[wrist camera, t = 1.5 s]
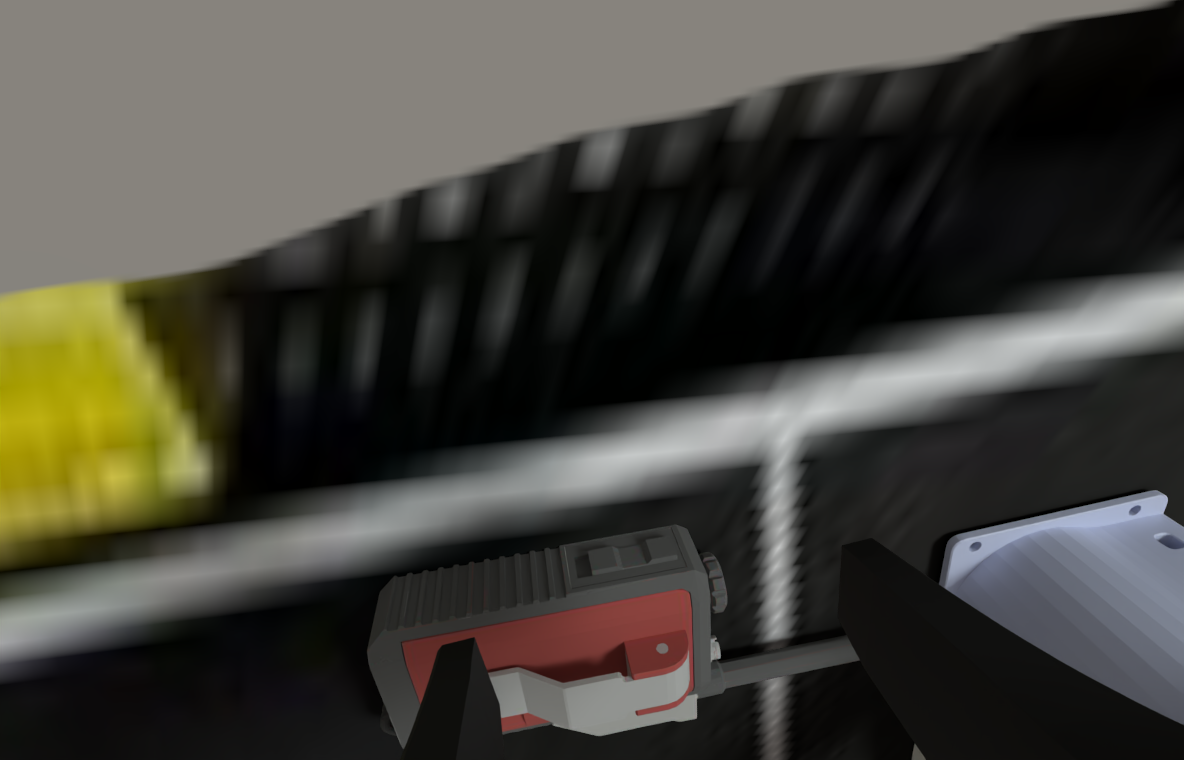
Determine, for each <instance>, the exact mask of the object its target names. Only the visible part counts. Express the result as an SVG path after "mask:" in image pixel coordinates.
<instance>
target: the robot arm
mask: <svg viewBox="0 0 1184 760" xmlns="http://www.w3.org/2000/svg"><path fill="white" fill-rule="evenodd" d="M1167 502H1168V498H1167V496H1166V495H1164V494H1162V493H1161V492H1159V491H1157V490H1154V491H1148V492H1143V493H1139V494H1135V495H1130V496H1126V497H1121V498H1117V499H1112V500H1108V501H1103V502H1099V503H1095V504H1090V505H1086V506H1081V507H1077V508H1072V509H1068V510H1064V511H1059V512H1055V513H1050V514H1046V515H1041V516H1037V517H1032V518H1028V519H1024V520H1019V521H1015V522H1010V523H1006V524H1001V525H997V526H992V527H988V528H984V529H979V530H975V531H970V532H966V533H961V534H958V535H955V536H953V537H952V538H950V540H949V541H948V542H947V545H946V549H945V555H944V560H943V566H942V571H941V577H940V582H939V584H938V583H936V582H935V581H933V580H932V579H931V578H929V577H928V576H926V575H925V574H923V573H922V572H920V571H919V570H917V569H916V568H915V567H913V566H912V565H910V564H909V563H907V562H906V561H904V560H903V559H902V558H900V557H899V556H897V555H896V554H894V553H893V552H891V551H890V550H889V549H887V548H886V547H884V546H883V545H881V544H880V543H878V542H877V541H875V540H874V539H872V538H870V539H866V540H862V541H858V542H854V543H850V544H846V545H842V555H841V571H840V586H839V602H838V619H839V621H840V623H841V625H842V627H843V629H844V631H845V633H846V635H847V637H848V639H849V641H850V643H851V645H852V647H853V648H854V650H855V652H856V654H857V656H858V658H859V659H860V661H861V663H862V665H863V667H864V669H865V670H866V672H867V673H868V675H869V676H870V678H871V679H872V681H873V682H874V684H875V685H876V687H877V688H878V690H879V691H880V693H881V694H882V696H883V697H884V699H885V700H886V702H887V703H888V705H889V706H890V708H891V709H892V711H893V712H894V713H895V715H896V716H897V718H898V719H899V721H900V722H901V724H902V725H903V727H904V728H905V730H906V731H907V733H908V734H909V735H910V737H911V738H912V740H913V741H914V743H915V744H916V746H917V747H918V749H919V750H920V752H921V753H922V755H923V756H924V758H925V759H926V760H1184V527H1183V526H1181V525H1179V524H1178V523H1176V522H1175V521H1173V520H1172V519H1170V518H1169V517H1167V516H1165V515H1164V514H1163V513H1164V510H1165V508H1166V505H1167ZM400 760H504V747H503V734H502V723H501V712H500V704H499V701H498V699H497V696H496V693H495V690H494V688H493V685H492V682H491V680H490V677H489V674H488V672H487V669H486V666H485V664H484V661H483V658H482V656H481V653H480V650H479V647H478V645H477V642H476V639H475V637H473V638H469V639H465V640H461V641H456V642H452V643H448V644H444V645H442V646H441V647H440V648H439V650H438V651H437V654H436V658H435V661H434V665H433V668H432V671H431V675H430V678H429V681H428V684H427V687H426V690H425V693H424V696H423V699H422V702H421V705H420V708H419V711H418V713H417V716H416V719H415V722H414V725H413V727H412V730H411V733H410V735H409V738H408V740H407V743H406V746H405V748H404V751H403V753H402V756H401V759H400Z"/></svg>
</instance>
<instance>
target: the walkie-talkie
mask: <svg viewBox="0 0 1184 760" xmlns="http://www.w3.org/2000/svg"><path fill="white" fill-rule="evenodd" d="M726 605H727V592H726V586H725V582H724V577H723V574H722V570H721V567H720V565H719V563H718V561H717V559H716V557H715V556H714V555H713V554H711V553H709V552H706V553H701V554H699V555H698V552H697V550H696V548H695V546H694V543H693V541H692V539H691V536H690V534H689V532H688V530H687V529H686V528H684V527H681V526H678V525H671V526H665V527H660V528H654V529H649V530H643V531H638V532H632V533H627V534H621V535H616V536H610V537H605V538H599V539H594V540H588V541H583V542H577V543H572V544H566V545H561V546H559V548H556V549H551V550H550V549H549V548H545V549H544V551H540V552H535V551H529V554H523V555H520V554H519V553H517V554H514V556H512V557H507V558H505V557H504V556H501V557H499V559H496V560H489V559H484V562H480V563H474V562H469V564H468V565H463V566H459V565H458V564H457V565H454V566H453V567H452V568H447V569H444V568H443V567H440V568H438V570H436V571H430V572H429V571H428V570H424V571H423V572H422V573H419V574H414V575H413V574H412V573H407V576H403V577H397V576H394V577H393V578H392V579H391V580H390V581H389V582H388V584H387V585H386V586H385V587H384V588H383V589H382V590H381V591H380V593H379V598H378V603H377V607H376V612H375V616H374V621H373V626H372V630H371V635H370V639H369V644H368V649H367V655H368V662H369V666H370V669H371V672H372V675H373V677H374V680H375V682H376V685H377V687H378V690H379V692H380V695H381V697H382V700H383V702H384V704H383V706H382V714H381V716H380V726H381V729H382V730H383V731H384V732H386V733H388V734H391V735H393V736H398V739H399V741H400V744H401V746H402V748H405V746H406V743H407V740H408V738H409V735H410V733H411V730H412V727H413V725H414V722H415V719H416V716H417V713H418V711H419V708H420V705H421V702H422V699H423V696H424V693H425V690H426V687H427V684H428V681H429V678H430V675H431V671H432V668H433V665H434V661H435V658H436V654H437V651H438V650H439V648H440V647H441V646H442V645H444V644H448V643H452V642H456V641H461V640H465V639H469V638H473V637H475V639H476V642H477V645H478V647H479V650H480V653H481V656H482V658H483V661H484V664H485V666H486V669H487V672H488V674H489V677H490V680H491V682H492V685H493V688H494V690H495V693H496V696H497V699H498V701H499V704H500V712H501V723H502V734H506V733H511V732H518V731H520V730H525V729H532V728H535V727H539V726H546V725H549V724H553V725H554V726H558V727H562V728H566V729H569V730H575V731H579V732H583V733H588V734H592V735H596V736H602V735H607V734H611V733H616V732H620V731H625V730H630V729H634V728H639V727H643V726H648V725H653V724H658V723H663V722H667V721H672V720H674V721H679V722H681V721H686V720H691V719H696V718H697V700H696V699H698V698H703V697H707V696H712V695H716V694H721V693H723V692H724V690H725V688H729V687H734V686H739V685H744V684H749V683H753V682H758V681H763V680H768V679H773V678H777V677H782V676H787V675H792V674H796V673H801V672H806V671H811V670H816V669H820V668H825V667H830V666H835V665H840V664H844V663H849V662H854V661H859V660H860V659H859V658H858V656H857V654H856V652H855V650H854V648H853V647H852V645H851V643H850V641H849V639H848V637H847V635H844V636H839V637H834V638H830V639H825V640H820V641H815V642H810V643H805V644H800V645H795V646H790V647H785V648H781V649H776V650H771V651H766V652H761V653H756V654H751V655H746V656H742V657H737V658H732V659H727V660H722V661H717V660H716V659H720V658H721V653H720V647H719V644H718V642H715V640H716V637H715V636H711V623H710V611H711V612H713V613H719V612H723V611H724V609H725V607H726Z"/></svg>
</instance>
